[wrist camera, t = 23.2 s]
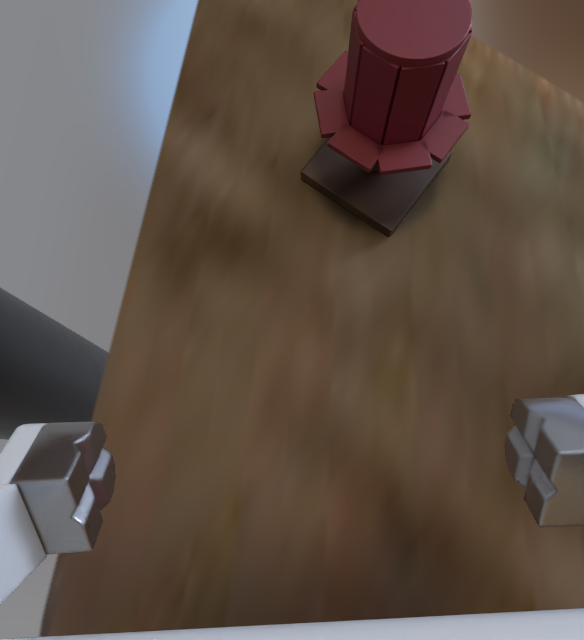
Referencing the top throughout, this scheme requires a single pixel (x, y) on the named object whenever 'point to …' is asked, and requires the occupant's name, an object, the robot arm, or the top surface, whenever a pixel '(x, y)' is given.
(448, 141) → the hat
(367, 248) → the top surface
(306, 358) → the top surface
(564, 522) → the robot arm
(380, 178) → the hat stand
